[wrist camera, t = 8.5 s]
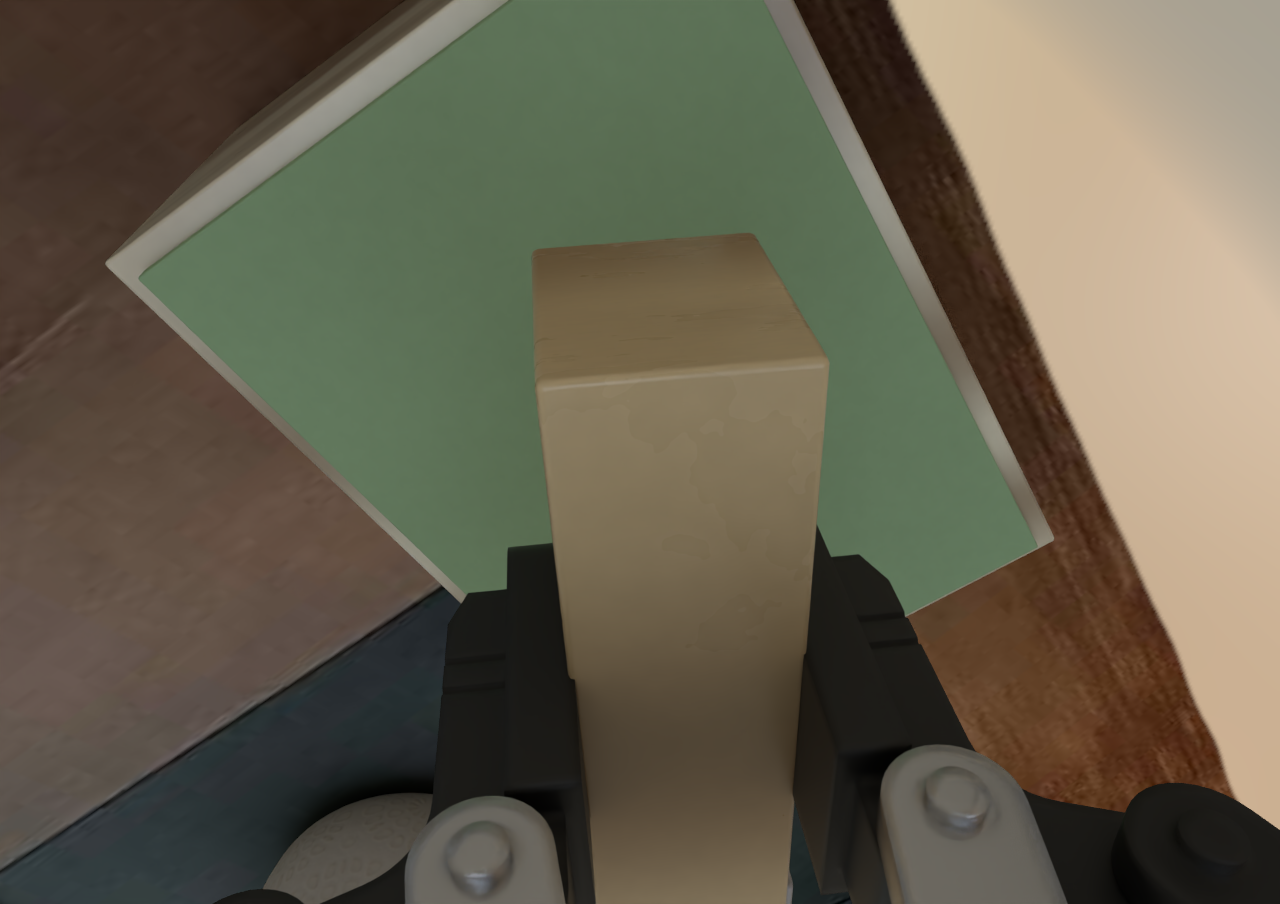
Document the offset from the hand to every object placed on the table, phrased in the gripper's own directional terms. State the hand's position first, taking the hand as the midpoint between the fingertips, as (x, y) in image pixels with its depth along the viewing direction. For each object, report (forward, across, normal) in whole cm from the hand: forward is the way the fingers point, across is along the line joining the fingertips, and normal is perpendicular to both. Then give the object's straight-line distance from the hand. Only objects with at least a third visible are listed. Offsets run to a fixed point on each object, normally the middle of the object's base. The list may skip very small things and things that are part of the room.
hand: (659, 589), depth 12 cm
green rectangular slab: (+8, -1, +3) cm, 9 cm away
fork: (+1, 0, +4) cm, 4 cm away
